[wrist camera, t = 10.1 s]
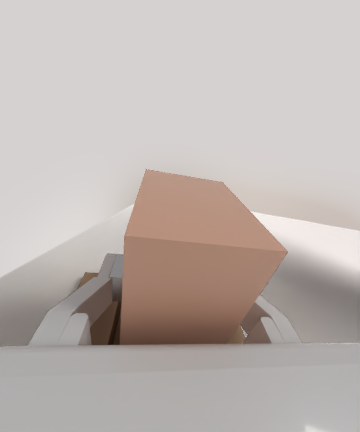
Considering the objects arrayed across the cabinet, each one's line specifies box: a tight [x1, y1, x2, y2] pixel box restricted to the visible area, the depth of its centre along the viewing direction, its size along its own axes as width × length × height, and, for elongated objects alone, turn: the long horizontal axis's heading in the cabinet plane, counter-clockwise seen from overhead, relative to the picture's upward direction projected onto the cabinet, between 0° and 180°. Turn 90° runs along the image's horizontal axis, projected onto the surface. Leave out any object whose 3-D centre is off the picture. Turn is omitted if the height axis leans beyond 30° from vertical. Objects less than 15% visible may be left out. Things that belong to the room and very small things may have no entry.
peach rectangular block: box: [120, 169, 288, 345], centre depth 10 cm, size 4×6×11 cm
